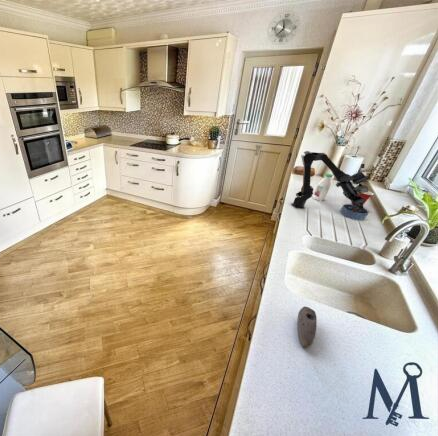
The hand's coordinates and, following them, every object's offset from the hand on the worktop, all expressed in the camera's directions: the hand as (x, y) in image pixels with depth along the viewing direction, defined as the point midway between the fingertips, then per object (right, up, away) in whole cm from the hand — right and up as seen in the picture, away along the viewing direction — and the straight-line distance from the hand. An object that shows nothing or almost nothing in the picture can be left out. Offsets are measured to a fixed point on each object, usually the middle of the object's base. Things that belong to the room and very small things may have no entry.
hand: (359, 205), depth 156 cm
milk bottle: (-8, +7, +27) cm, 29 cm away
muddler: (-1, -6, +4) cm, 7 cm away
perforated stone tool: (-89, -49, -76) cm, 127 cm away
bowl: (-1, -6, +4) cm, 8 cm away
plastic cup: (+15, +1, +18) cm, 23 cm away
